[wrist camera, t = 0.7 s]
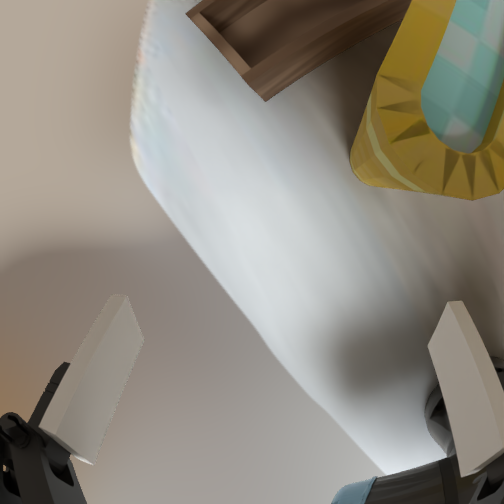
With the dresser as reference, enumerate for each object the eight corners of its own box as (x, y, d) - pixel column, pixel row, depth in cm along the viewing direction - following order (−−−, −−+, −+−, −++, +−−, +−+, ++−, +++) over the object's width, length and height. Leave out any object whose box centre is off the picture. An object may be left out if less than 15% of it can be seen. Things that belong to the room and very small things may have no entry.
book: (396, 47, 27) (446, -107, 3) (447, 76, 26) (557, -36, 2) (337, 167, 32) (332, 127, 9) (389, 198, 31) (501, 240, 8)
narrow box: (411, 14, 25) (422, -14, 18) (265, 101, 32) (247, 84, 26) (345, -43, 24) (342, -75, 18) (209, 36, 32) (185, 13, 25)
